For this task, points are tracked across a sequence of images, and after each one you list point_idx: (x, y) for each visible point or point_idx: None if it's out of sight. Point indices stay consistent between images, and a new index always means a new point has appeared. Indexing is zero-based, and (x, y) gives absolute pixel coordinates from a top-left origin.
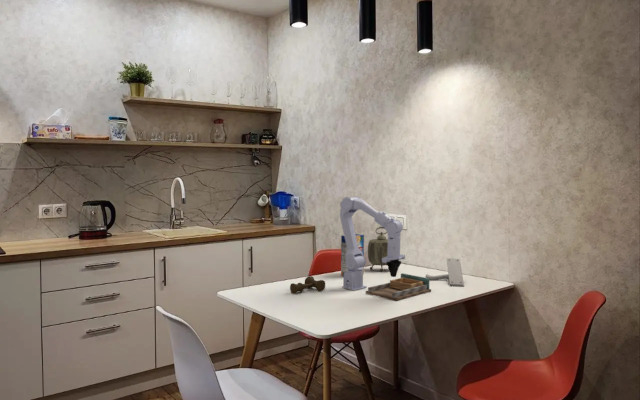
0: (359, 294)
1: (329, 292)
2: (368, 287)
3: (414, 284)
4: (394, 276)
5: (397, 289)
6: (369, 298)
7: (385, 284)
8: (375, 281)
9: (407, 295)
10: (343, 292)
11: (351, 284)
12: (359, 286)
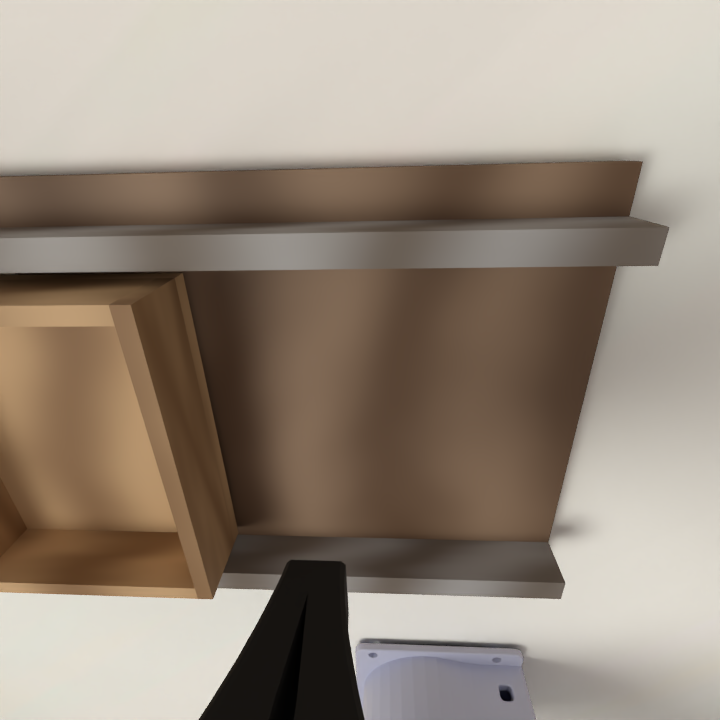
0: (602, 569)
1: (686, 702)
2: (558, 596)
3: (34, 300)
4: (335, 567)
5: (229, 445)
6: (696, 443)
7: None
8: (154, 688)
9: (360, 178)
10: (622, 658)
11: (533, 716)
12: (443, 671)
